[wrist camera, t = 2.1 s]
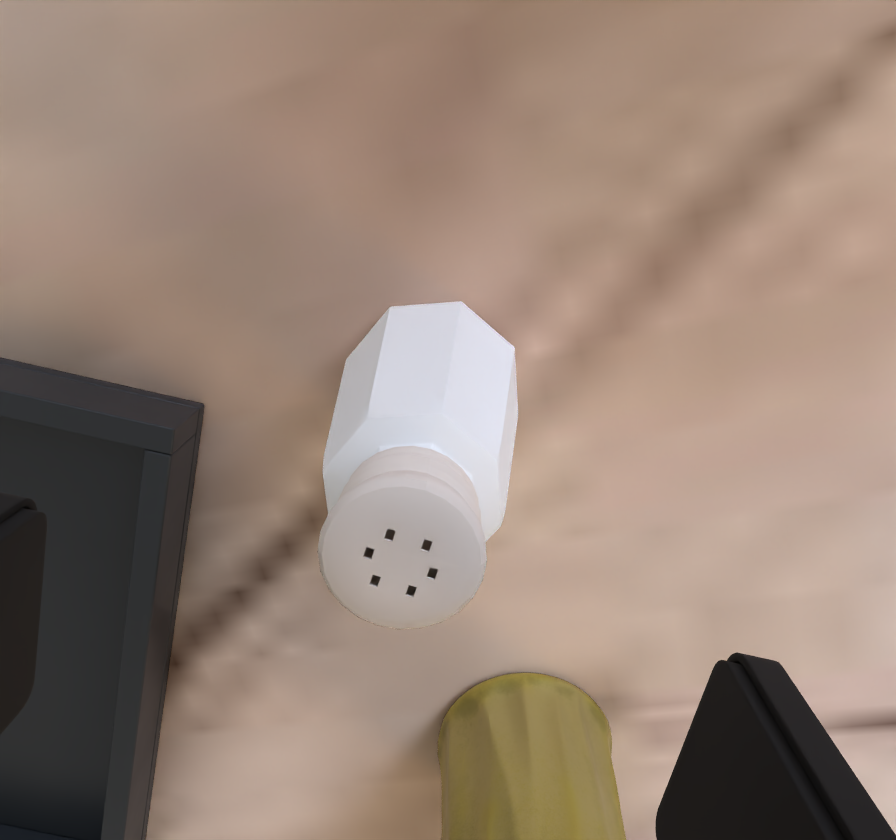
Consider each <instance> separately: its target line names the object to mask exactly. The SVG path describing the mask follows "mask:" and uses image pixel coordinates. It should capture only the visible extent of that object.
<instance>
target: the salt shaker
mask: <svg viewBox="0 0 896 840" xmlns="http://www.w3.org/2000/svg"><path fill="white" fill-rule="evenodd" d="M517 420H518V400H517V381H516V362H515V347H514V346H513V345H511V344H510V343H509V342H508V341H507V340H506V339H504V338H503V337H502V336H501V335H500V334H499V333H498V332H496V331H495V330H494V329H493V328H492V327H491V326H489V325H488V324H487V323H486V322H485V321H484V320H482V319H481V318H480V317H479V316H478V315H477V314H476V313H474V312H473V311H472V310H471V309H470V308H469V307H467V306H466V305H465V304H464V303H463V302H462V301H458V302H445V303H431V304H418V305H404V306H391V307H389V309H388V310H387V311H386V312H385V313H384V315H383V316H382V317H381V318H380V319H379V321H378V322H377V323H376V324H375V325H374V327H373V328H372V329H371V330H370V331H369V333H368V334H367V335H366V336H365V337H364V339H363V340H362V341H361V342H360V343H359V345H358V346H357V347H356V348H355V349H354V351H353V352H352V353H351V354H350V355H349V357H348V358H347V359H346V362H345V367H344V371H343V375H342V380H341V384H340V388H339V392H338V397H337V401H336V405H335V410H334V414H333V418H332V423H331V427H330V431H329V436H328V440H327V444H326V449H325V453H324V460H323V480H324V488H325V495H326V502H327V509H328V516H327V518H326V520H325V523H324V525H323V527H322V529H321V531H320V538H319V544H318V558H319V564H320V571H321V573H322V575H323V577H324V580H325V582H326V584H327V586H328V589H329V590H330V591H331V592H332V594H333V595H334V596H335V597H336V599H337V600H338V601H339V602H340V603H341V605H343V606H344V607H345V608H347V609H348V610H349V611H351V612H352V613H353V614H355V615H356V616H357V617H359V618H361V619H364V620H366V621H368V622H371V623H373V624H375V625H378V626H382V627H388V628H394V629H418V628H424V627H427V626H431V625H434V624H437V623H441V622H443V621H444V620H446V619H448V618H449V617H451V616H453V615H455V614H456V613H458V612H459V611H460V610H461V609H462V608H463V607H464V606H465V605H466V604H467V603H468V602H469V601H470V600H471V599H472V598H473V597H474V595H475V593H476V591H477V590H478V588H479V586H480V584H481V582H482V581H483V576H484V572H485V567H486V563H487V556H486V541H487V540H488V539H489V538H490V537H491V536H492V535H493V534H494V533H495V532H496V531H497V530H498V529H499V528H500V527H501V525H502V521H503V518H504V514H505V509H506V502H507V494H508V487H509V479H510V472H511V465H512V457H513V450H514V443H515V435H516V428H517Z"/></svg>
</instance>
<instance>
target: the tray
mask: <svg viewBox="0 0 896 840" xmlns="http://www.w3.org/2000/svg"><path fill="white" fill-rule="evenodd" d="M203 413H204V404H202V403H198V402H193V401H189V400H185V399H180V398H176V397H171V396H167V395H163V394H158V393H154V392H150V391H145V390H141V389H136V388H132V387H128V386H123V385H119V384H114V383H110V382H106V381H101V380H97V379H93V378H88V377H84V376H79V375H75V374H71V373H66V372H62V371H57V370H53V369H49V368H44V367H40V366H36V365H31V364H27V363H22V362H18V361H14V360H9V359H5V358H0V492H3V493H7V494H12V495H16V496H21V497H26V498H30V499H32V500H33V501H34V502H35V503H36V507H37V511H39V512H43V513H44V514H45V515H46V517H47V535H46V548H45V560H44V572H43V584H42V596H41V609H40V621H39V633H38V645H37V657H36V669H35V680H34V685H33V689H32V692H31V694H30V697H29V699H28V701H27V703H26V704H25V706H24V707H23V709H22V710H21V711H20V713H19V714H18V715H17V716H16V717H15V718H14V720H13V721H12V722H11V723H10V724H9V725H8V727H7V728H6V729H5V730H4V731H3V732H2V734H1V735H0V840H145V839H146V831H147V824H148V817H149V809H150V802H151V795H152V787H153V780H154V773H155V765H156V758H157V751H158V743H159V736H160V729H161V721H162V714H163V707H164V699H165V692H166V684H167V677H168V670H169V662H170V655H171V648H172V640H173V633H174V626H175V618H176V611H177V604H178V596H179V589H180V582H181V574H182V567H183V560H184V552H185V545H186V538H187V530H188V523H189V516H190V508H191V501H192V494H193V486H194V479H195V471H196V464H197V457H198V449H199V442H200V435H201V427H202V420H203Z"/></svg>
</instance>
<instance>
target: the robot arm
mask: <svg viewBox="0 0 896 840" xmlns="http://www.w3.org/2000/svg"><path fill="white" fill-rule="evenodd" d="M46 535H47V517H46V515H45V514H44V513H43V512H39V511H37V507H36V503H35V502H34V501H33V500H32V499H30V498H26V497H21V496H16V495H12V494H7V493H3V492H0V735H1V734H2V732H3V731H4V730H5V729H6V728H7V727H8V725H9V724H10V723H11V722H12V721H13V720H14V718H15V717H16V716H17V715H18V714H19V713H20V711H21V710H22V709H23V707H24V706H25V704H26V703H27V701H28V699H29V697H30V694H31V692H32V689H33V685H34V680H35V669H36V657H37V645H38V633H39V621H40V609H41V596H42V584H43V572H44V560H45V548H46ZM656 837H657V840H896V835H895V833H894V832H893V830H892V829H891V827H890V826H889V824H888V823H887V821H886V820H885V818H884V817H883V815H882V814H881V812H880V811H879V810H878V808H877V807H876V805H875V804H874V802H873V801H872V799H871V798H870V796H869V795H868V793H867V792H866V790H865V789H864V787H863V786H862V784H861V783H860V781H859V780H858V778H857V777H856V775H855V774H854V772H853V771H852V769H851V768H850V766H849V765H848V763H847V762H846V760H845V759H844V757H843V756H842V754H841V753H840V751H839V750H838V748H837V747H836V746H835V744H834V743H833V741H832V740H831V738H830V737H829V735H828V734H827V732H826V731H825V729H824V728H823V726H822V725H821V723H820V722H819V720H818V719H817V717H816V716H815V714H814V713H813V711H812V710H811V708H810V707H809V705H808V704H807V702H806V701H805V699H804V698H803V696H802V695H801V693H800V692H799V690H798V689H797V687H796V686H795V684H794V683H793V682H792V680H791V679H790V677H789V676H788V674H787V673H786V671H785V670H784V668H783V667H782V666H781V665H780V663H779V662H777V661H773V660H769V659H764V658H759V657H755V656H750V655H746V654H741V653H734V654H732V655H731V656H730V657H729V658H728V660H727V661H724V660H720V661H718V662H717V663H716V664H715V666H714V668H713V670H712V673H711V675H710V678H709V680H708V683H707V685H706V688H705V691H704V693H703V696H702V698H701V701H700V703H699V706H698V708H697V711H696V713H695V716H694V719H693V721H692V724H691V726H690V729H689V731H688V734H687V736H686V739H685V742H684V744H683V747H682V749H681V752H680V754H679V757H678V759H677V762H676V765H675V767H674V770H673V772H672V775H671V777H670V780H669V782H668V785H667V787H666V790H665V793H664V795H663V798H662V800H661V803H660V805H659V808H658V811H657V816H656Z"/></svg>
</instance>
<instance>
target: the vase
mask: <svg viewBox="0 0 896 840" xmlns="http://www.w3.org/2000/svg"><path fill="white" fill-rule="evenodd" d="M611 750H612V738H611V731H610V727H609V724H608V721H607V719H606V717H605V715H604V714H603V712H602V711H601V709H600V708H599V707H598V705H597V704H596V703H595V702H594V701H593V700H592V699H591V698H590V697H589V696H588V695H587V694H586V693H584V692H583V691H582V690H581V689H579V688H578V687H576V686H575V685H573V684H571V683H569V682H566V681H564V680H562V679H559V678H556V677H553V676H549V675H544V674H537V673H513V674H506V675H502V676H497V677H494V678H491V679H488V680H486V681H484V682H481V683H479V684H478V685H476V686H474V687H473V688H471V689H470V690H468V691H467V692H466V693H464V694H463V695H462V696H461V697H460V698H459V699H458V700H457V701H456V702H455V703H454V704H453V705H452V706H451V708H450V709H449V710H448V712H447V714H446V715H445V717H444V720H443V723H442V725H441V729H440V733H439V738H438V752H437V754H438V759H439V764H440V770H441V785H442V836H441V840H626V836H625V831H624V826H623V821H622V815H621V809H620V802H619V796H618V791H617V785H616V780H615V775H614V770H613V765H612V759H611Z"/></svg>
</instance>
